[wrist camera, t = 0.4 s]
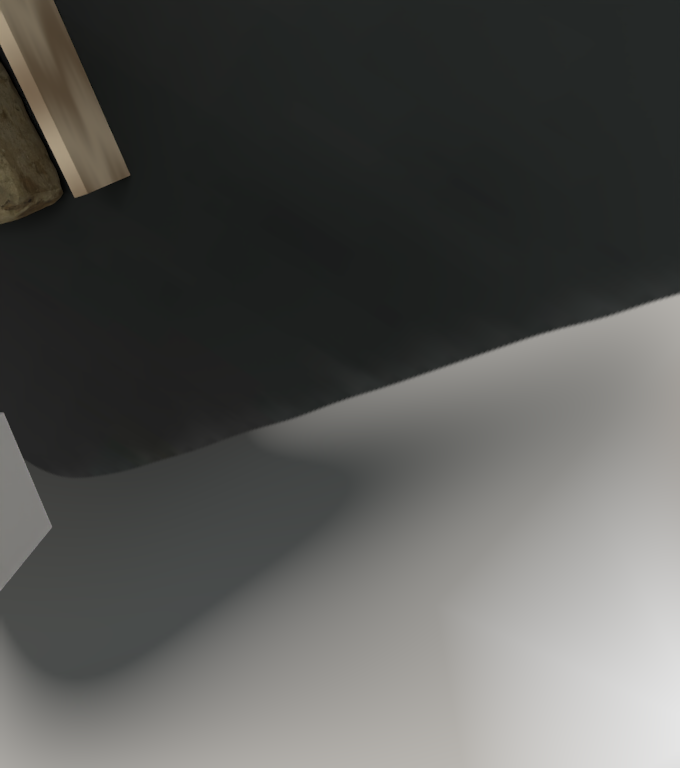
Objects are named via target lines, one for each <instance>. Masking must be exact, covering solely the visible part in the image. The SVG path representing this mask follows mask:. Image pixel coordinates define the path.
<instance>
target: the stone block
mask: <svg viewBox="0 0 680 768" xmlns="http://www.w3.org/2000/svg"><path fill="white" fill-rule="evenodd" d="M62 194H63V191H62V188H61V185H60V180H59V176H58V174H57V171H56V168H55V167H54V165H53V163H52V162H51V160H50V158H49V155H48V153H47V150H46V148H45V146H44V144H43V142H42V140H41V139H40V137H39V135H38V133H37V131H36V129H35V128H34V126H33V124H32V122H31V120H30V118H29V116H28V114H27V112H26V110H25V107H24V104H23V102H22V99H21V97H20V96H19V94H18V92H17V90H16V88H15V86H14V84H13V82H12V80H11V78H10V76H9V74H8V73H7V71H6V69H5V68H4V66H3V65H2V63H1V61H0V224H3V223H7V222H12V221H14V220H18V219H20V218H23V217H25V216H27V215H29V214H32V213H34V212H36V211H39V210H41V209H43V208H45V207H46V206H50V205H52V204H54V203H55V202H56V201H57V200H58V199H60V198H61V196H62Z"/></svg>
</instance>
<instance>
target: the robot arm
mask: <svg viewBox="0 0 680 768" xmlns="http://www.w3.org/2000/svg"><path fill="white" fill-rule="evenodd" d="M51 528H52V526H51V523H50V521H49V518H48V516H47V514H46V511H45V509H44V507H43V504H42V502H41V500H40V497H39V495H38V492H37V490H36V488H35V485H34V483H33V481H32V479H31V476H30V474H29V471H28V469H27V467H26V464H25V462H24V460H23V457H22V455H21V452H20V450H19V448H18V445H17V443H16V441H15V438H14V436H13V434H12V431H11V429H10V427H9V424H8V422H7V420H6V417H5V415H4V412H3V413H0V591H1V590H2V588H3V587H4V586H5V585H6V583H7V582H8V581H9V580H10V578H11V577H12V576H13V575H14V574H15V572H16V571H17V570H18V568H19V567H20V566H21V565H22V564H23V562H24V561H25V560H26V559H27V557H28V556H29V555H30V554H31V553H32V551H33V550H34V549H35V548H36V546H37V545H38V544H39V543H40V541H41V540H42V539H43V538H44V537H45V535H46V534H47V533H48V532H49V530H50V529H51Z"/></svg>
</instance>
